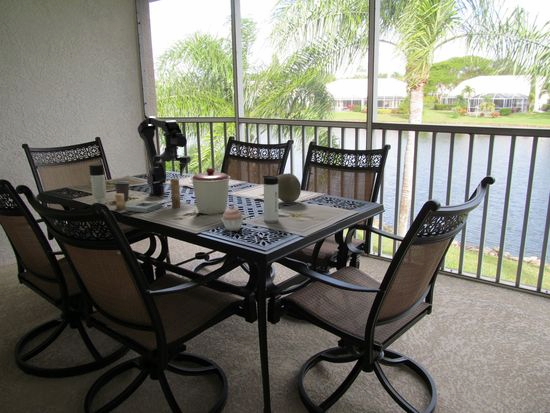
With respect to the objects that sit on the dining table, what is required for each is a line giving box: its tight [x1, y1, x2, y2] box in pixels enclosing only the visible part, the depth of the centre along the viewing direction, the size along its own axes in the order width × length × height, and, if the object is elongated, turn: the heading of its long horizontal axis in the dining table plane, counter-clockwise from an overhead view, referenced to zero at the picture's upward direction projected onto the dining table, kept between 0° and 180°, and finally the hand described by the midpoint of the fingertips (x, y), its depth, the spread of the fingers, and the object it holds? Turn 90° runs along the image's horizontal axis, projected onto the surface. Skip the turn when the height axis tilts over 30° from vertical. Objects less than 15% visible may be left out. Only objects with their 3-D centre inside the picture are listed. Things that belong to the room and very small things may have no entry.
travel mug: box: [262, 175, 279, 224], centre depth 186 cm, size 6×7×20 cm
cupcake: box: [220, 205, 245, 232], centre depth 177 cm, size 9×9×10 cm
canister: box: [190, 166, 231, 215], centre depth 202 cm, size 18×18×21 cm
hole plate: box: [125, 200, 163, 214], centre depth 211 cm, size 12×12×2 cm
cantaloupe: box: [276, 173, 302, 203], centre depth 219 cm, size 14×14×15 cm
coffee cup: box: [113, 180, 131, 201], centre depth 228 cm, size 8×8×10 cm
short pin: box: [114, 193, 126, 210], centre depth 211 cm, size 4×4×7 cm
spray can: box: [88, 163, 108, 205], centre depth 219 cm, size 7×7×20 cm
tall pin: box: [169, 178, 181, 209], centre depth 212 cm, size 4×4×14 cm
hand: (172, 175), depth 226 cm, fingers open, 9 cm apart
